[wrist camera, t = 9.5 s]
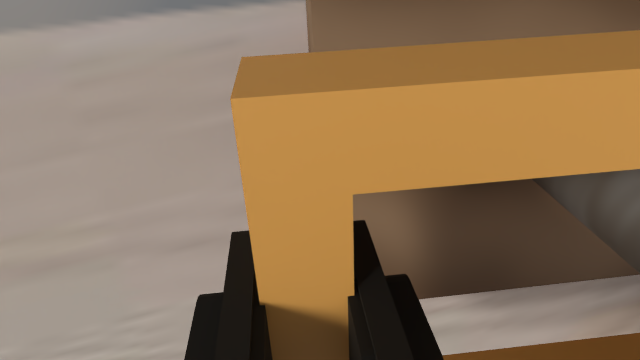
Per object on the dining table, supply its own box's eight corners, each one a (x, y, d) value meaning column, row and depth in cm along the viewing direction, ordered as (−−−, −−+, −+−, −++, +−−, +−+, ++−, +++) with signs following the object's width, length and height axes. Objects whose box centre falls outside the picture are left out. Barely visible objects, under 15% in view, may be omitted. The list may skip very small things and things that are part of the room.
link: (286, 412, 13) (290, 514, 10) (241, 57, 8) (229, 98, 6) (803, 350, 14) (911, 430, 12) (1022, 3, 9) (1272, 22, 7)
